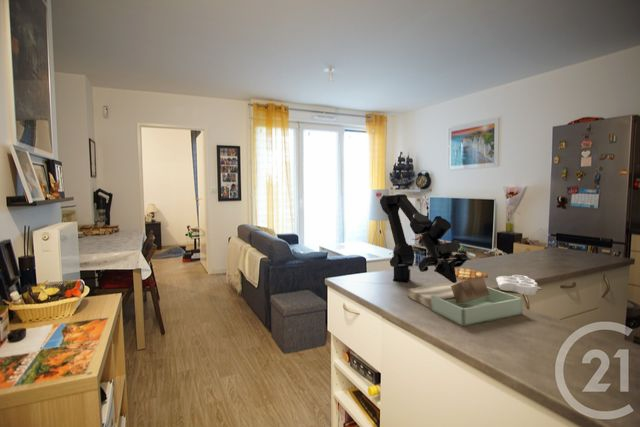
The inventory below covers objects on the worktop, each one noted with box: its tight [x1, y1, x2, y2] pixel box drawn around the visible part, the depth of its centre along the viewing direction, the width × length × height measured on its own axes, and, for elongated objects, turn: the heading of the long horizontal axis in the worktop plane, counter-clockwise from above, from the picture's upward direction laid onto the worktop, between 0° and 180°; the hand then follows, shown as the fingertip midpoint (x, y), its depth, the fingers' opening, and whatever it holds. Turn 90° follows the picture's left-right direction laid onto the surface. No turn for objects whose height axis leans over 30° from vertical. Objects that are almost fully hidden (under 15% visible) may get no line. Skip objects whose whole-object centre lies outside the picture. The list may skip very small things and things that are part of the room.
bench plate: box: [407, 281, 458, 309], centre depth 120 cm, size 14×22×3 cm, turn 111°
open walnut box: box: [451, 276, 490, 303], centre depth 109 cm, size 6×5×10 cm
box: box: [430, 286, 523, 327], centre depth 107 cm, size 14×24×5 cm, turn 111°
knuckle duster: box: [495, 274, 542, 296], centre depth 131 cm, size 3×18×15 cm
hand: (455, 282), depth 115 cm, fingers closed
